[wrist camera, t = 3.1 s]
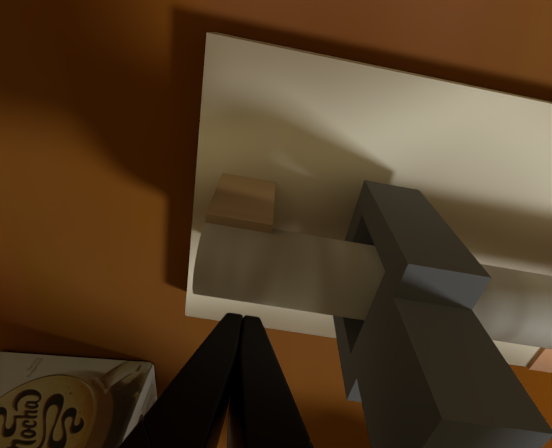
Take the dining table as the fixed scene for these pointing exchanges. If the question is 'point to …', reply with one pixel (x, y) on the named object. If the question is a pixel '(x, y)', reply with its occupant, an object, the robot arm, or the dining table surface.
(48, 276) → the dining table surface
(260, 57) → the pipe stand
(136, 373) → the coffee box
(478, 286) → the dark angular block
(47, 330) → the dining table surface
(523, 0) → the dining table surface
